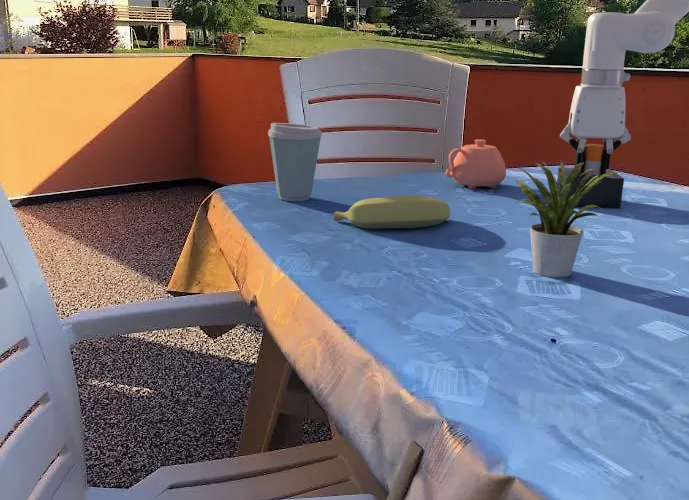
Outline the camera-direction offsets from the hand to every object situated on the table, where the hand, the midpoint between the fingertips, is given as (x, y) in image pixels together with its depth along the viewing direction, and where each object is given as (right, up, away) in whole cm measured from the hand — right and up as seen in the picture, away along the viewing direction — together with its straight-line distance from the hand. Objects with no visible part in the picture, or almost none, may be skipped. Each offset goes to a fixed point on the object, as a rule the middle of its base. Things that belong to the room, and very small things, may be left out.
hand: (591, 171), depth 143 cm
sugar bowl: (-21, -1, +16) cm, 26 cm away
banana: (-42, -11, -18) cm, 47 cm away
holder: (0, -6, +2) cm, 6 cm away
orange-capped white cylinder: (0, -3, +1) cm, 3 cm away
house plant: (-19, -19, -43) cm, 50 cm away
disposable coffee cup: (-60, -6, 0) cm, 60 cm away
